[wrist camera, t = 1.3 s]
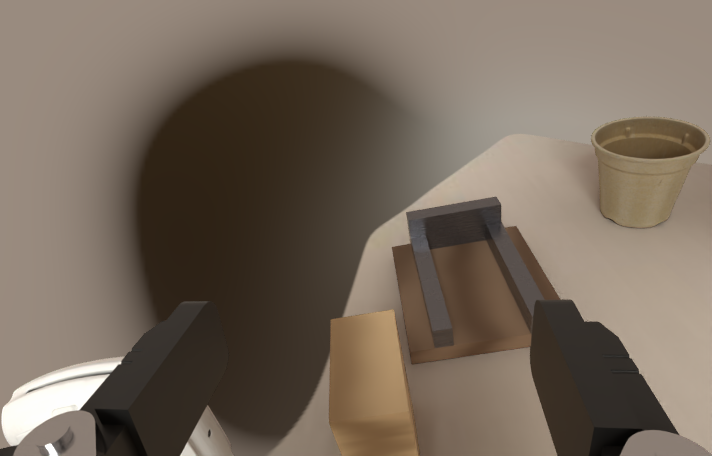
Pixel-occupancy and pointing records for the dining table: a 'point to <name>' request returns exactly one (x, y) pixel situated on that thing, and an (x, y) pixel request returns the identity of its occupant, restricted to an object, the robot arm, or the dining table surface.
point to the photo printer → (72, 390)
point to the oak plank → (370, 388)
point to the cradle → (467, 282)
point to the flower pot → (644, 166)
